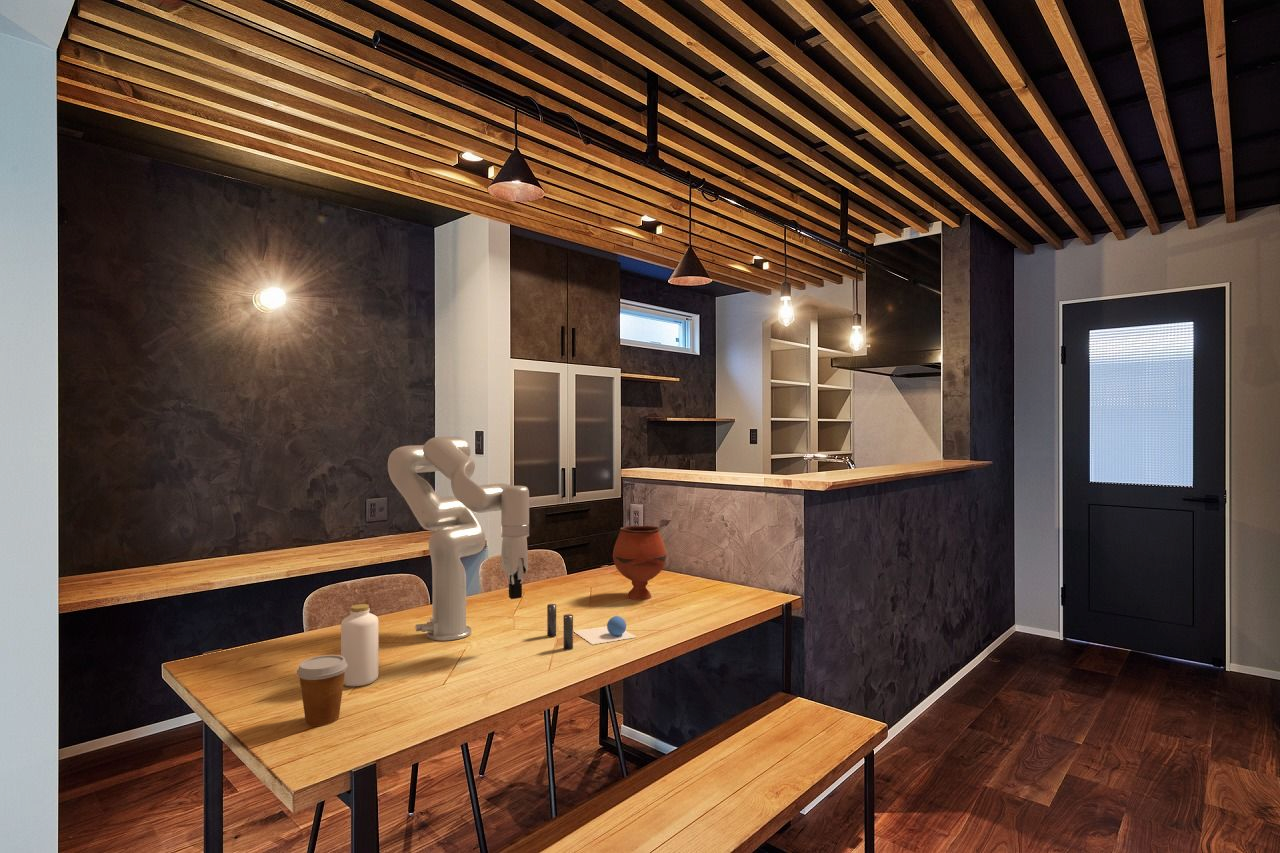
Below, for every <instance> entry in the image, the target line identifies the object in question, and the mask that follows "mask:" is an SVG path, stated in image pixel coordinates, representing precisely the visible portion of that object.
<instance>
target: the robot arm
mask: <svg viewBox="0 0 1280 853" xmlns="http://www.w3.org/2000/svg"><path fill="white" fill-rule="evenodd" d="M475 469H476V463H475V461H474V460H473V459H472V457H471V446H470V444H469V442H468V441H467V440H466V439H464V438H463V437H461V436H434V437H432V438H429V439H428V440H427V441H426V442H425V443H424V444H421V445H420V444H419V445H415V444H414V445H404V446H399V447H397V448H395V449H394V450H393V451H392V452H390V454H389V456H388V460H387V471H388V475H389V479H390V480H391V482H392V484H393V485H394V486H395V488H396V489H397V491H398V493H400V495H401V496H402V497H403V498H404V500H405V502H406V503H407V506H409V508H410V510H411V512H412V513H413V515H414V517H415V518H416V520H417V522H418V524H419V525H420V526H421V527H422V528H423V529H424V530H427V531H433V533H432V534H431V535H430V537H429V540H428V550H429V554H430V555H429V556H430V559H431V560H430V561H431V569H432V570H431V573H432V574H431V576H432V583H431V584H432V618H430V619H429V621H427V622H426V623H419V624H415V632H422V633H426V638H428V639H430V640H435V641H445V642H446V641H455V640H459V639H463V638H466V637H469V635H471V634H472V627H470V626H469V625H467V573H466V572H467V571H466V569H465V566H464V565H463V562H462V560H461V558H464V557H468V556H472V555H475V554H478V553H480V552H481V551H483V549H484V548H485V545H486V534H485V531H484V530H483V527H482V526H481V523H479V521H478V519H477V517H476V515H475V514H476V513H477V514H482V513H483V514H484V513H489V512H498V511H500V512H501V513H500V514H501V515H500V516H501V521H500V522H501V524H500V526H501V528H500V530H501V534H500V536H501V538H502V540H501V552H500V554H501V555H500V556H501V557H500V558H501V559H500V569H501V570H502V571H503V572H504V573H506V574H507V577H508V578H507V579H508V598H509V599H511V600H516V599H522V597H523V580H524V574H527V572H528V570H529V555H528V540H527V539H528V537H529V536H530V491H529V488H528V486H525V485H510V484H507V483H492V484H491V483H490V484H482V485H479V484H477V483H475V482H474V481H473V480H472V479H471V478H472V476H473V474H474V472H475ZM433 472H434V473H435V472H440V473H441V474H443V475H444V476H445V477H446V478H447V479H448V480H450V488H451V490H452V493H453V496H443V497H442V496H439V495H438V494H437V492H436V491H435V489H434V488H433V487H432V485H431V484H430V483H429V481H427V480H426V479H425V478H424V477H422V476H420V475H419V474H420V473H433ZM418 473H419V474H418ZM474 513H475V514H474Z"/></svg>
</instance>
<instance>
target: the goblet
mask: <svg viewBox="0 0 1280 853" xmlns="http://www.w3.org/2000/svg"><path fill="white" fill-rule="evenodd" d="M666 549H667V548H666V546H665V543H664V540H663V538H662V534H661V532H660V527H658V526H654V525H653V526H652V525H634V526H633V525H628V526H623V527H620V528H619V534H618V535H617V538H616V541H615V544H614V546H613V550H612V559H613V563H614V566H615V568H616V569H617V570H618V572H619V573H620V574H621V575H622V576H624V577H625V578H626V579H628V580H630V581H631V585H632V586H633V587H632V589H630V590H629V591H628V593H627V594H626V597H627V599H629V600H636V601H644V600H649V599H651V598H652V594H651V592H650V590H648V588H647V585H649V581H650V580H652V579H654V578H656V576H658V575H659V573H661V572H662V570H663V569H664V567H665V565H666V562H667V550H666Z"/></svg>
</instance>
